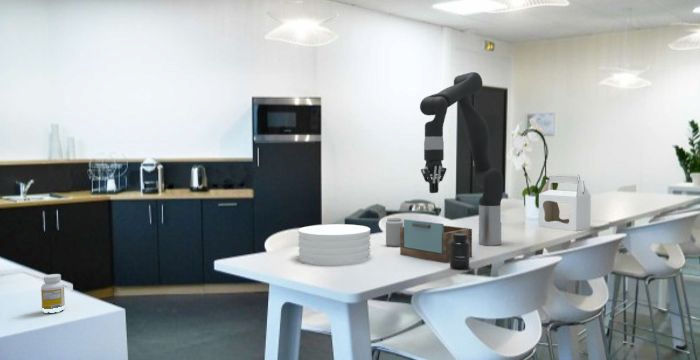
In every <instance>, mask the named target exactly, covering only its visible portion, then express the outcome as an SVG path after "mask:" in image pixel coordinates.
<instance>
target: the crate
mask: <svg viewBox="0 0 700 360" xmlns="http://www.w3.org/2000/svg"><path fill="white" fill-rule="evenodd" d="M457 233H460V234H467V240H466V241H467V242H468V243H469V244H470V257H469V258H472V256H473V228H469V227H459V226H452V225H444V224H443V253H437V252H431V251H425V250H419V249H413V248H407V247H404V226H403V227H400V246H399V247H400V251H399V252H400V253H399V254H400V255H401V256H408V257H413V258H418V259H421V260H423V259H424V260H429V261H433V262H440V263H445V264H447V263H450V244H451V242H453V241H454V239H453V234H457Z"/></svg>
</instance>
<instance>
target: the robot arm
mask: <svg viewBox="0 0 700 360" xmlns="http://www.w3.org/2000/svg"><path fill="white" fill-rule="evenodd" d="M483 84H484V83H483V78H482V76H481V75H480V74H479V73H478V72H476V71H475V72H474V71H471V72H467V73H464V74H461V75H457V76H455V77H454V79H453V85H451V86H449V87H446V88H444V89H443V90H440V91H439V92H438V93H437V92H436V93H434V94H431V95H427V96H425V97H424V98H423V99H422V100H421V101H420V104H419V109H420V112H421V113H422V114H423V115H425V116H434V118H433V119H432V120H430V121H427V122H426V123H425V124H424V141H423V143H424V144H423V152H424V153H423V160H424V161H425V165H424V168H421V169H420V172H421V175H422V177H423V178H424V182H425V183H428V185H429V188H428V189H429V193H430V194H438V193H439V184H440V182H443V179H444V177H445V174H446V172H447V168H446V167H444V166H443V163H442V162H443V161H444V160H445V159H444V157H445V154H444V151H445V150H444V147H445V146H444V125H445V119H446V116H447V115H446V114H447V111H448V108H449V107H451V106H453V105H454V104H455V103H457V102H458V105H459V108H460V111H461V114H462V118H463V122H464V127H465V131H466V136H467V139H468V140H467V141H468V144H469V147H470V152H471V156H472V160H473V167H474V175H475V176H474V177H475V181H476V183H477V185H478V186H479V187H480V188H481V189H483V192H482V195H481V197H479V199H478V244H479V245H482V246H492V247H493V246H500V245H501V244H502V221H501V219H502V218H501V215H502V214H501V208H502V207H501V206H502V205H501V202H502V200H503V195H504V176H503V174H502V172H501V171H500V170H499V169H497V168H492V165H491V162H490V157H489V148H490V142H491V141H490V140H491V136H490V132H489V127H488V124H487V121H486V120H485V118H484V117H483V116H482V115H481V114H480V113H479V112H478V111H477V110H476V109H475V108H474V106H473V105H472V103H471V100H470V96H471V95H475V94H478V93H480V92H481V91H482V89H483Z"/></svg>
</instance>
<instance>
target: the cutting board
mask: <svg viewBox="0 0 700 360" xmlns="http://www.w3.org/2000/svg"><path fill="white" fill-rule="evenodd" d="M443 225H444V223H441V222H440V223H439V222H430V221H425V220H423V221H422V220H416V219H415V220H414V219H403V227H404V247H407V248H413V249H419V250H425V251H431V252H437V253H443Z"/></svg>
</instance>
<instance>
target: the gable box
mask: <svg viewBox="0 0 700 360" xmlns="http://www.w3.org/2000/svg"><path fill="white" fill-rule="evenodd" d="M554 183H555V184H556V183H557V184H574V185H577V188H576V189H577V190H564V189H553V187H554V186H553V184H554ZM591 199H592V195H591V193H590V191H589V189H588V188H587V187H586V185H585V181H583V180H581V177H580V175H579V174H571V173H569V174H567V173H550V175H549V176H548V179H545V184H544V185H543V186H542V189H541V190H540V192H539V194H538V227H539V228H546V229H553V230H554V229H555V230H563V231H571V232H572V231H573V232H579V231H584V230H585V231H586V230H590V229H591V204H592V202H591V201H592V200H591ZM558 203H559V204H562V203H566V204H570V206H571V209H570V211H569V215H568V218H566V219H565V218H564V219H562V218H560V214H561V213H560V212H561V211H560V208H559V205H558Z"/></svg>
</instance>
